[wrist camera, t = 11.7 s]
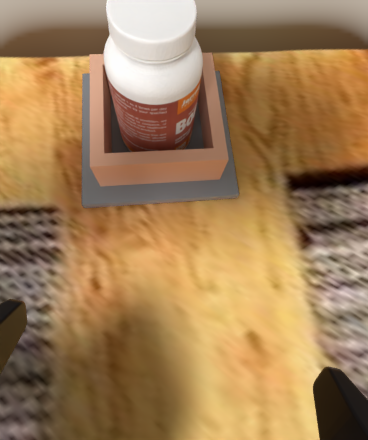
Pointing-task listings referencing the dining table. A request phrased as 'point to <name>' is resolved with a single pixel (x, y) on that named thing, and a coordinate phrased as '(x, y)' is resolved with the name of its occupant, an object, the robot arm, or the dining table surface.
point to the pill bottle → (153, 71)
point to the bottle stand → (154, 160)
